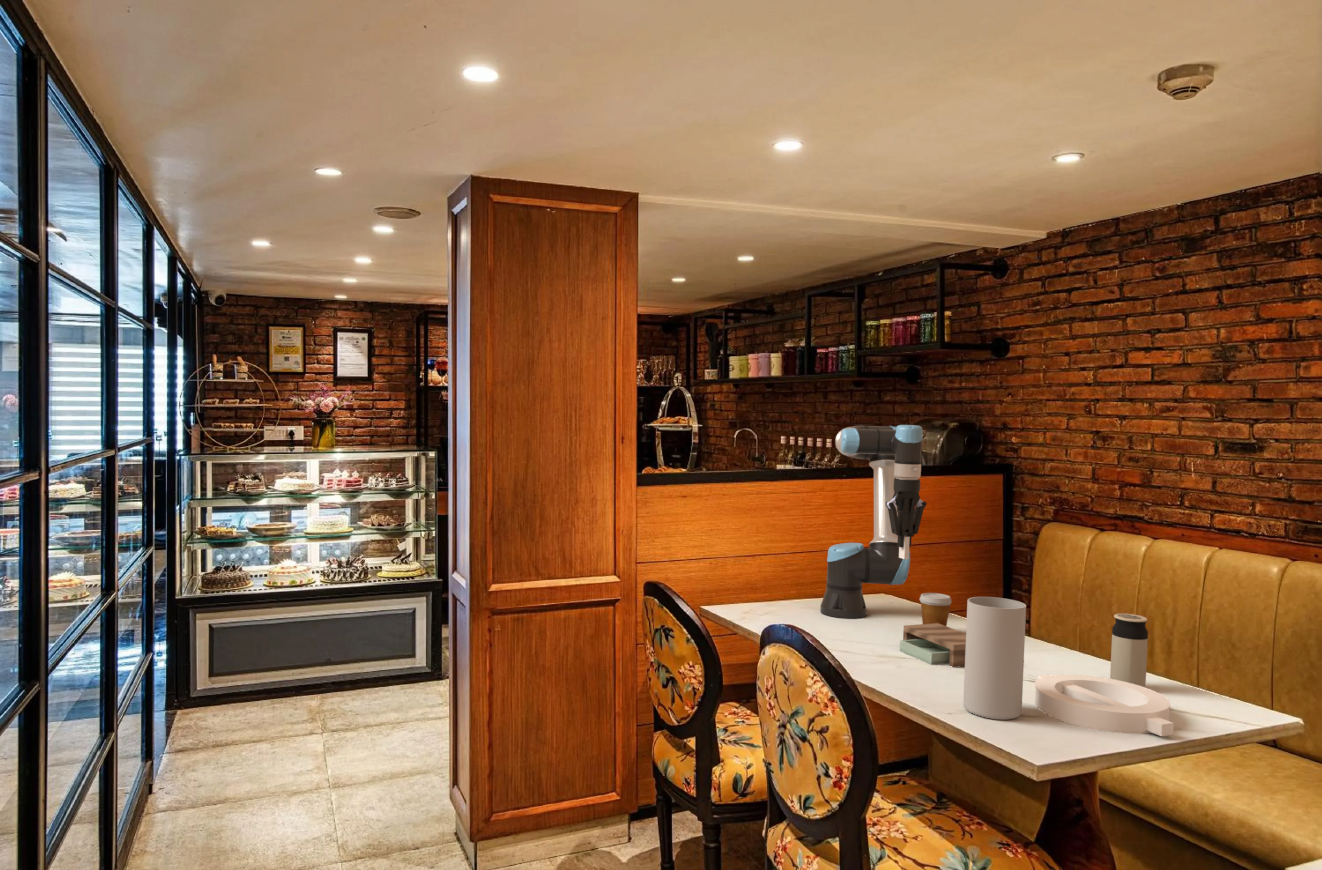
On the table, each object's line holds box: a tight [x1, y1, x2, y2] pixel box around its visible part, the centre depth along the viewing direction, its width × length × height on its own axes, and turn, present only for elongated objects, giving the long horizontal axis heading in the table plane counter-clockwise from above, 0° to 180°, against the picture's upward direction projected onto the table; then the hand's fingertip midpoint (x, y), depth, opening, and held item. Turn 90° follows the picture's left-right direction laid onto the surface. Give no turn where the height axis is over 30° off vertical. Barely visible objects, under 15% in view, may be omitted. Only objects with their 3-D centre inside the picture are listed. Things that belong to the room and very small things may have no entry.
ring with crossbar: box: [1033, 674, 1175, 737], centre depth 209 cm, size 28×28×5 cm
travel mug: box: [1109, 613, 1149, 688], centre depth 228 cm, size 8×8×18 cm
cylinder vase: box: [962, 596, 1027, 721], centre depth 206 cm, size 12×12×25 cm
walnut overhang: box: [902, 623, 966, 668], centre depth 254 cm, size 22×12×6 cm, turn 21°
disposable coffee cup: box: [918, 592, 953, 627], centre depth 277 cm, size 10×10×12 cm
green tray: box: [899, 639, 950, 665], centre depth 253 cm, size 14×12×3 cm
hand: (903, 558), depth 265 cm, fingers closed
